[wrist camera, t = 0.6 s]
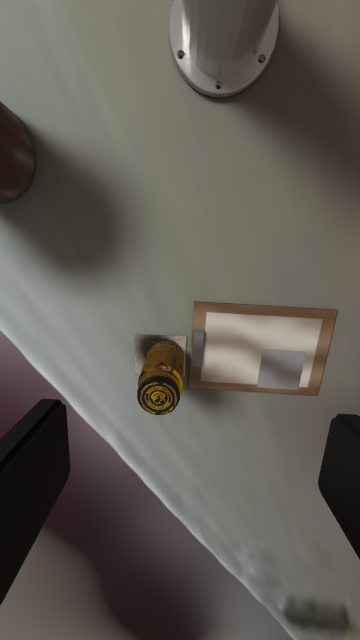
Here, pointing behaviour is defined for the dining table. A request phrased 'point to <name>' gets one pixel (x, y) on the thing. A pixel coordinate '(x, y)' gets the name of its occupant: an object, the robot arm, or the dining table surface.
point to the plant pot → (14, 156)
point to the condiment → (159, 371)
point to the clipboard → (259, 347)
